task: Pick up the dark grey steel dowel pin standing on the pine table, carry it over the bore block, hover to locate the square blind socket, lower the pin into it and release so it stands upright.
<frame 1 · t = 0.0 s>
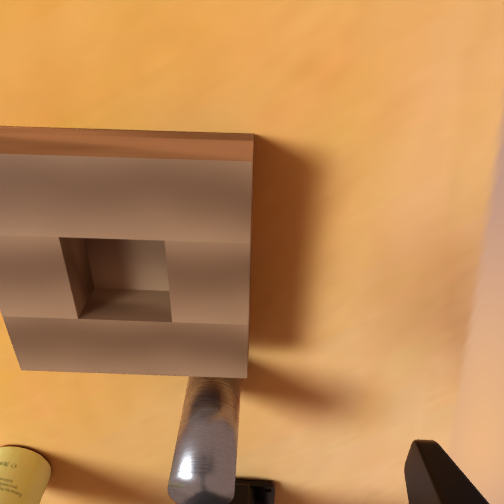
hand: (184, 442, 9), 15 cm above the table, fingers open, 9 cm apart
bore block: (137, 243, 24), on the table
pin: (216, 367, 28), on the table
tube: (24, 461, 35), on the table
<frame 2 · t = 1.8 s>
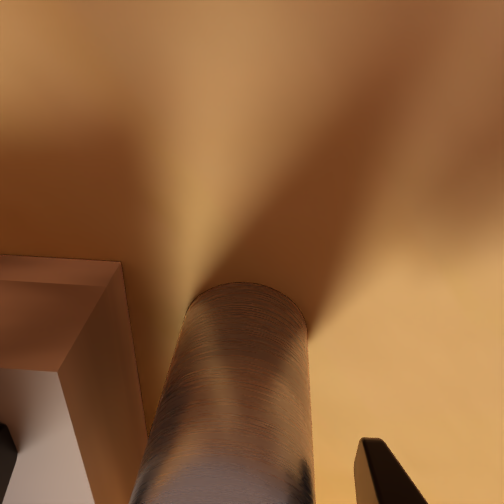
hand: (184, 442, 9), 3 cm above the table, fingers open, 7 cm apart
pin: (244, 332, 12), on the table
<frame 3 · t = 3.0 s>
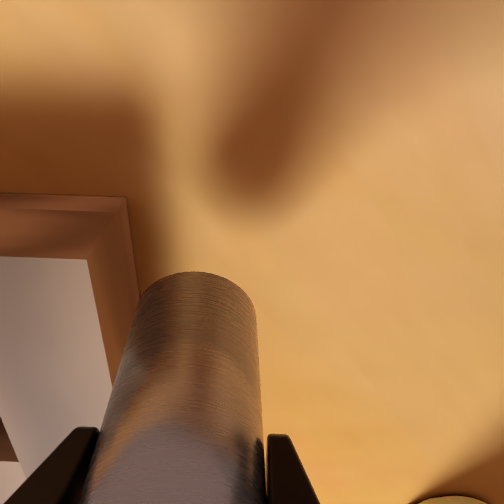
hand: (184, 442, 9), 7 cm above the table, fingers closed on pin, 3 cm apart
pin: (196, 321, 12), point 3 cm above the table, touching gripper
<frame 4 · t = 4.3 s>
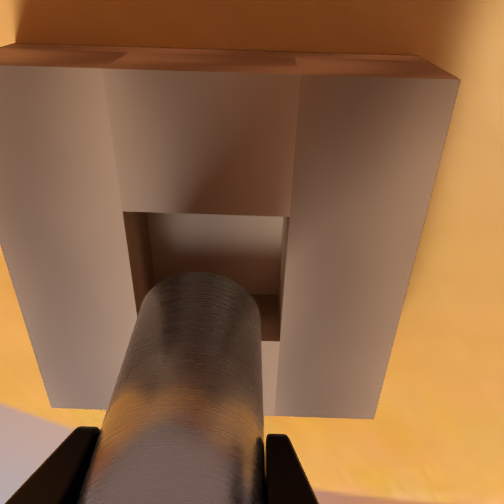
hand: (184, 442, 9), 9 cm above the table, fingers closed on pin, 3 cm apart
bore block: (218, 226, 17), on the table
pin: (200, 321, 12), point 5 cm above the table, touching gripper
when the fingers open (5 cm above the table, at t = 5.7 s): pin stays where it is, resting on bore block.
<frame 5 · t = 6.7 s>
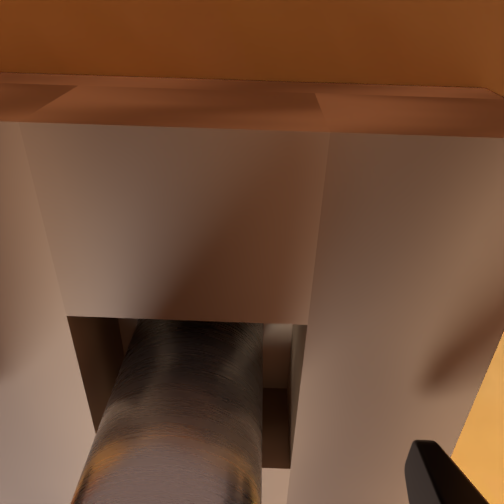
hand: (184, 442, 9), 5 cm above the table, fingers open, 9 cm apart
bore block: (209, 301, 13), on the table
pin: (202, 323, 12), point 1 cm above the table, touching bore block
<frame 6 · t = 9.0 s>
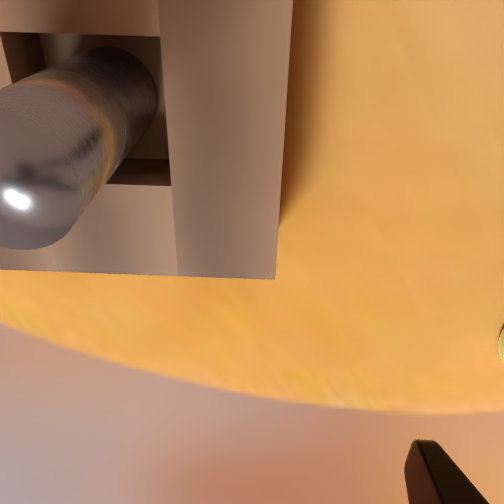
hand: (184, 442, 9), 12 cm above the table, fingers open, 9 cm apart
bore block: (122, 90, 17), on the table
pin: (113, 94, 16), point 1 cm above the table, touching bore block
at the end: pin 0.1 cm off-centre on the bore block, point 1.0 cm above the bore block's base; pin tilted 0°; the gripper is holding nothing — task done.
